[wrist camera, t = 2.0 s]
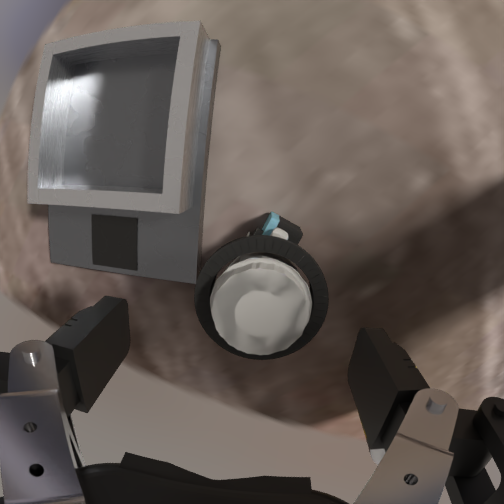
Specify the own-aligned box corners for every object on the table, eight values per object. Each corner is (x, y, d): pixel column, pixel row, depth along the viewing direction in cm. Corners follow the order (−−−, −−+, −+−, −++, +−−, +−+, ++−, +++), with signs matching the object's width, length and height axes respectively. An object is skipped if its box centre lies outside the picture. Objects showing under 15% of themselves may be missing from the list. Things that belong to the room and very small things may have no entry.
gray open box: (220, 45, 18) (209, 20, 14) (200, 277, 22) (184, 302, 18) (71, 59, 18) (40, 45, 14) (59, 257, 22) (27, 274, 18)
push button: (270, 314, 22) (268, 410, 13) (203, 278, 22) (156, 357, 12) (321, 233, 21) (360, 288, 11) (249, 192, 20) (228, 214, 11)
